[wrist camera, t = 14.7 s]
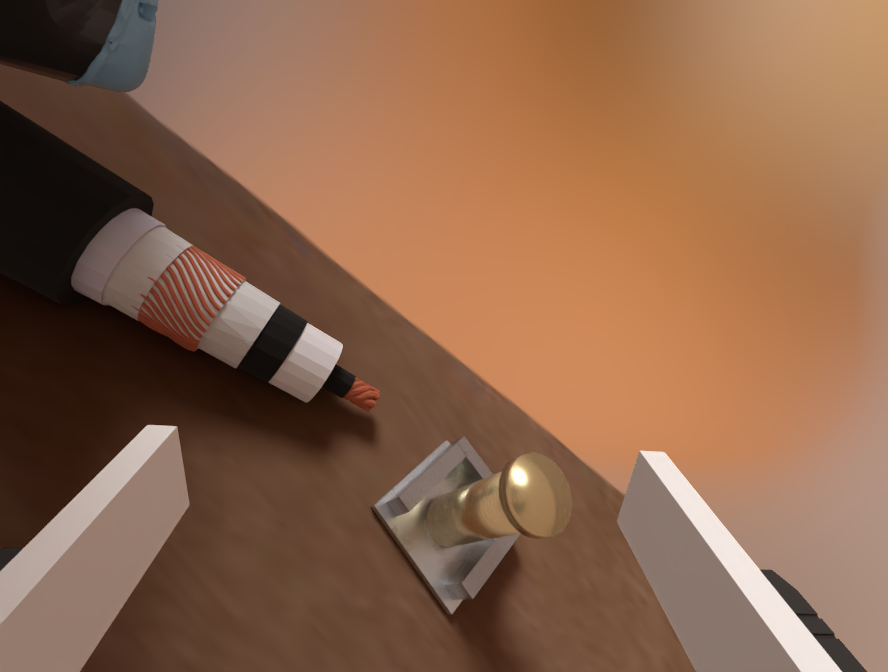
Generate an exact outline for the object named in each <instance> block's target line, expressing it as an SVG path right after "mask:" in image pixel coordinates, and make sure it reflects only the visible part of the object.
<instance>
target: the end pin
mask: <svg viewBox="0 0 888 672" xmlns="http://www.w3.org/2000/svg"><path fill="white" fill-rule="evenodd" d="M571 513H572V497H571V492H570V488H569V485H568V482H567V480H566V478H565V476H564V474H563V473H562V471H561V470H560V468H559V467H558V466H557V465H556V464H555V463H554V462H553V461H552V460H551V459H549V458H548V457H546V456H544V455H542V454H539V453H527V454H524V455H522V456H519V457H517V458H515V459H512V460H511V461H509V462H508V463H507V464H506V466H505V467H504V469H503V470H502V472H500V473H497V474H495V475H492V476H490V477H487V478H484V479H482V480H479V481H477V482H474V483H472V484H469V485H466V486H464V487H461V488H459V489H456V490H453V491H451V492H448V493H446V494H443V495H441V496H438V497H437V498H435V499H434V500H433V501H432V503H431V504H430V506H429V509H428V512H427V525H428V529H429V532H430V534H431V536H432V537H433V538H434V540H435V541H436V542H437V543H439V544H440V545H442V546H445V547H455V546H460V545H465V544H470V543H475V542H480V541H485V540H490V539H495V538H500V537H505V536H510V535H515V534H520V533H521V534H523V535H525V536H527V537H530V538H534V539H539V538H545V537H550V536H555V535H557V534H559V533H561V532H562V531H563V530H564V529H565V528H566V526H567V525H568V523H569V520H570V517H571Z"/></svg>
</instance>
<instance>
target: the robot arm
mask: <svg viewBox="0 0 888 672" xmlns="http://www.w3.org/2000/svg"><path fill="white" fill-rule="evenodd" d="M157 8H158V0H0V64H2V65H6V66H10V67H13V68H17V69H21V70H24V71H28V72H32V73H36V74H39V75H43V76H47V77H50V78H54V79H58V80H62V81H65V82H66V83H68V84H71V85H75V86H82V85H89V86H94V87H98V88H103V89H108V90H112V91H117V92H129V91H132V90H134V89H136V88H138V87H139V86H140V85H141V84H142V83H143V81H144V79H145V77H146V74H147V71H148V68H149V63H150V59H151V53H152V48H153V43H154V35H155V28H156V16H155V13H156V12H157ZM189 505H190V504H189V498H188V492H187V485H186V479H185V473H184V466H183V460H182V454H181V447H180V441H179V435H178V428H177V426H162V425H147V426H146V427H145V428H144V429H143V430H142V431H141V432H140V433H139V434H138V435H137V436H136V437H135V438H134V439H133V440H132V441H131V442H130V443H129V444H128V445H127V446H126V447H125V448H124V449H123V450H122V451H121V452H120V453H119V454H118V455H117V456H116V457H115V458H114V459H113V460H112V461H111V462H110V463H109V464H108V465H107V466H106V467H105V468H104V469H103V470H102V471H101V472H100V473H99V474H98V475H97V476H96V477H95V478H94V479H93V480H92V481H91V482H90V483H89V484H88V485H87V486H86V487H85V488H84V489H83V490H82V491H81V492H80V493H79V494H78V495H77V496H76V497H75V498H74V499H73V500H72V501H71V502H70V503H69V504H68V505H67V506H66V507H65V508H64V509H63V510H62V511H60V512H59V513H58V514H57V515H56V516H55V517H54V518H53V519H52V520H51V521H50V522H49V523H48V524H47V525H46V526H45V527H44V528H43V529H42V530H41V531H40V532H39V533H38V534H37V535H36V536H35V537H34V538H33V539H32V540H31V541H30V542H29V543H28V544H27V545H26V546H25V547H24V548H4V549H2V550H0V672H80V671H81V669H82V668H83V666H84V665H85V663H86V662H87V660H88V658H89V657H90V655H91V654H92V652H93V651H94V649H95V648H96V646H97V645H98V643H99V642H100V640H101V639H102V637H103V636H104V634H105V633H106V631H107V630H108V628H109V627H110V625H111V624H112V622H113V620H114V619H115V617H116V616H117V614H118V613H119V611H120V610H121V608H122V607H123V605H124V604H125V602H126V601H127V599H128V598H129V596H130V595H131V593H132V592H133V590H134V589H135V587H136V586H137V584H138V582H139V581H140V579H141V578H142V576H143V575H144V573H145V572H146V570H147V569H148V567H149V566H150V564H151V563H152V561H153V560H154V558H155V557H156V555H157V554H158V552H159V551H160V549H161V548H162V546H163V544H164V543H165V541H166V540H167V538H168V537H169V535H170V534H171V532H172V531H173V529H174V528H175V526H176V525H177V523H178V522H179V520H180V519H181V517H182V516H183V514H184V513H185V511H186V510H187V508H188V506H189ZM617 523H618V525H619V527H620V529H621V531H622V533H623V534H624V536H625V538H626V540H627V542H628V544H629V546H630V548H631V550H632V551H633V553H634V555H635V557H636V559H637V561H638V563H639V565H640V567H641V568H642V570H643V572H644V574H645V576H646V578H647V580H648V582H649V584H650V586H651V587H652V589H653V591H654V593H655V595H656V597H657V599H658V601H659V603H660V604H661V606H662V608H663V610H664V612H665V614H666V616H667V618H668V620H669V621H670V623H671V625H672V627H673V629H674V631H675V633H676V635H677V637H678V639H679V640H680V642H681V644H682V646H683V648H684V650H685V652H686V654H687V656H688V657H689V659H690V661H691V663H692V665H693V667H694V669H695V671H696V672H867V671H866V670H865V669H864V668H863V667H862V666H861V664H860V663H859V662H858V661H857V660H856V658H855V657H854V656H853V655H852V654H851V652H850V651H849V650H848V649H847V648H846V647H845V645H844V644H843V643H842V642H841V641H840V640H839V639H836V638H835V636H834V633H833V631H832V630H831V629H830V628H829V627H828V626H827V624H826V623H825V622H824V621H823V620H822V619H819V618H818V616H817V613H816V612H815V611H814V609H813V608H812V607H811V606H810V605H809V603H808V602H807V601H806V600H805V599H804V598H803V597H802V595H801V594H800V593H799V592H798V591H797V590H796V589H795V588H794V587H792V586H791V585H790V584H789V583H787V582H786V581H785V580H784V579H782V578H781V577H780V576H779V575H777V574H776V573H775V572H774V571H772V570H759V569H758V567H757V566H756V565H755V564H754V562H753V561H752V560H751V559H750V557H749V556H748V555H747V554H746V552H745V551H744V550H743V549H742V547H741V546H740V545H739V544H738V542H737V541H736V540H735V539H734V538H733V536H732V535H731V534H730V533H729V531H728V530H727V529H726V528H725V526H724V525H723V524H722V523H721V522H720V520H719V519H718V518H717V517H716V515H715V514H714V513H713V512H712V510H711V509H710V508H709V507H708V505H707V504H706V503H705V502H704V501H703V499H702V498H701V497H700V496H699V494H698V493H697V492H696V491H695V489H694V488H693V487H692V486H691V485H690V483H689V482H688V481H687V479H686V478H685V477H684V476H683V475H682V473H681V472H680V471H679V470H678V468H677V467H676V466H675V465H674V464H673V462H672V461H671V460H670V459H669V457H668V456H667V455H666V454H665V452H652V451H639V454H638V458H637V460H636V464H635V467H634V470H633V473H632V476H631V479H630V482H629V485H628V488H627V491H626V494H625V497H624V501H623V504H622V507H621V510H620V513H619V516H618V519H617Z"/></svg>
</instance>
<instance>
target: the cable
mask: <svg viewBox="0 0 888 672" xmlns="http://www.w3.org/2000/svg"><path fill="white" fill-rule="evenodd" d="M153 205H154V204H153V201H152V198H151V197H150V196H149V195H147V194H146V193H144V192H143V191H141V190H140V189H138V188H136V187H135V186H133V185H132V184H130V183H129V182H127V181H125V180H124V179H122V178H121V177H119V176H118V175H116V174H114V173H113V172H111V171H110V170H108V169H107V168H105V167H103V166H102V165H100V164H99V163H97V162H96V161H94V160H92V159H91V158H89V157H88V156H86V155H85V154H83V153H81V152H80V151H78V150H77V149H75V148H74V147H72V146H70V145H69V144H67V143H66V142H64V141H63V140H61V139H59V138H58V137H56V136H55V135H53V134H52V133H50V132H48V131H47V130H45V129H44V128H42V127H41V126H39V125H37V124H36V123H34V122H33V121H31V120H30V119H28V118H26V117H25V116H23V115H22V114H20V113H19V112H17V111H15V110H14V109H12V108H11V107H9V106H8V105H6V104H4V103H3V102H1V101H0V273H1V274H3V275H4V276H6V277H8V278H10V279H12V280H14V281H16V282H18V283H20V284H22V285H24V286H26V287H28V288H30V289H32V290H34V291H36V292H37V293H39V294H41V295H43V296H45V297H47V298H49V299H51V300H53V301H55V302H57V303H59V304H61V305H72V304H75V303H78V302H81V301H83V300H84V299H86V298H87V297H89V298H91V299H93V300H95V301H97V302H98V303H100V304H102V305H110V306H112V307H114V308H116V309H118V310H119V311H121V312H123V313H125V314H127V315H128V316H130V317H132V318H134V319H136V320H137V321H140V322H142V323H143V324H144V325H146V326H147V327H149V328H151V329H152V330H154V331H156V332H159V333H161V334H163V335H165V336H167V337H169V338H170V339H172V340H173V341H174V342H176V343H177V344H179V345H180V346H182V347H183V348H185V349H188V350H190V351H193V352H195V351H196V350H197V349H201V350H203V351H205V352H206V353H208V354H210V355H212V356H214V357H216V358H217V359H219V360H221V361H223V362H225V363H226V364H228V365H230V366H232V367H234V368H235V369H236V368H237V367H238V368H240V369H242V370H243V371H245V372H247V373H249V374H251V375H252V376H254V377H256V378H258V379H260V380H261V381H263V382H265V383H270V384H272V385H274V386H276V387H278V388H279V389H281V390H283V391H285V392H287V393H289V394H291V395H292V396H294V397H296V398H298V399H300V400H302V401H304V402H305V403H306V402H309V401H310V400H311V399H312V398H313V397H314V396H315V395H316V393H317V392H318V391H319V390H320V388H321V387H323V388H325V389H327V390H329V391H330V392H332V393H334V394H336V395H338V396H339V397H341V398H345V399H346V400H349V401H350V402H352V403H353V404H356V405H357V406H359V407H360V408H362V409H364V410H366V411H368V412H369V411H370V409H371V408H373V407H374V406H375V404H376V401H375V400H378V398H379V397H380V394H379V390H377V389H375V388H374V387H372V386H370V385H368V384H366V383H365V382H363V381H360V380H359V379H358V378H356V376H354V375H352V374H351V373H349V372H347V371H346V370H344V369H343V368H341V367H339V366H338V365H336V363H337V361H338V359H339V356H340V354H341V352H342V348H343V345H342V343H340V342H338V341H337V340H335V339H333V338H332V337H330V336H328V335H327V334H325V333H323V332H322V331H320V330H318V329H317V328H315V327H313V326H312V325H310V324H308V323H307V321H306V320H305V319H303V318H301V317H300V316H298V315H296V314H295V313H293V312H292V311H290V310H288V309H287V308H285V307H284V306H282V305H280V303H279V302H278V301H276V300H274V299H273V298H271V297H270V296H268V295H266V294H265V293H263V292H262V291H260V290H258V289H257V288H255V287H254V286H252V285H251V284H249V283H247V282H246V278H245V277H244V276H242V275H240V274H239V273H237V272H235V271H233V270H232V269H230V268H229V267H227V266H225V265H223V264H222V263H220V262H219V261H217V260H216V259H214V258H212V257H210V256H209V255H208V254H206V253H204V252H203V251H201V250H199V249H198V248H196V247H195V246H193V245H192V244H190V243H189V242H187V241H185V240H184V239H182V238H181V237H179V236H177V235H176V234H174V233H173V232H171V231H170V230H168V229H167V228H166V225H164V224H163V223H161V222H160V221H158V220H156V219H155V218H153V217H151V216H152V210H153Z"/></svg>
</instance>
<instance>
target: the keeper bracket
mask: <svg viewBox="0 0 888 672" xmlns="http://www.w3.org/2000/svg"><path fill="white" fill-rule="evenodd" d="M492 475H493V474H492V473H491V471H490V470H489V469H488V467H487V466H486V465H485V463H484V462H483V461H482V459H481V458H480V457H479V455H478V454H477V453H476V451H475V450H474V449H473V447H472V446H471V445H470V443H469V442H468V441H467V439H466V438H465V436H463V437H461V438H460V439H458V440H456V441H454V442H452V443H451V444H450V443H449V442H448V440H446V441H444V442H443V443H441V444H440V445H439V446H438V447H437V448H436V449H435V450H434V451H433V452H431V453H430V454H429V455H428V456H427V457H426V458H425V459H424V460H422V461H421V462H420V463H419V464H418V465H417V466H416V467H415V468H414V469H412V470H411V471H410V472H409V473H408V474H407V475H406V476H405V477H403V478H402V479H401V480H400V481H399V482H398V483H397V484H396V485H395V486H393V487H392V488H391V489H390V490H389V491H388V492H387V493H386V494H385V495H383V496H382V497H381V498H380V499H379V500H378V501H377V502H376V503H374V504H373V505H372V506H371V508H372V509H373V511H374V512H375V513H376V515H377V516H378V518H379V519H380V521H381V522H382V523H383V525H384V526H385V528H386V529H387V530H388V532H389V533H390V535H391V536H392V537H393V539H394V540H395V542H396V543H397V544H398V546H399V547H400V549H401V550H402V551H403V553H404V554H405V556H406V557H407V558H408V560H409V561H410V563H411V564H412V565H413V567H414V568H415V570H416V571H417V573H418V574H419V575H420V577H421V578H422V580H423V581H424V582H425V584H426V585H427V587H428V588H429V589H430V591H431V592H432V594H433V595H434V596H435V598H436V599H437V601H438V602H439V603H440V605H441V606H442V608H443V609H444V610H445V612H446V613H447V614H453V612H454V611H455V610H456V608H457V607H458V606H459V604H460V603H461V602H462V600H463V599H473V598H474V597H475V596H476V594H477V593H478V592H479V590H480V589H481V587H482V586H483V585H484V583H485V582H486V581H487V579H488V578H489V576H490V575H491V574H492V572H493V571H494V570H495V568H496V567H497V565H498V564H499V563H500V561H501V560H502V559H503V557H504V556H505V554H506V553H507V552H508V550H509V549H510V548H511V546H512V545H513V543H514V542H515V541H516V539H517V538H518V537H519V535H520V534H521V533H520V534H515V535H510V536H505V537H500V538H495V539H490V540H485V541H480V542H475V543H470V544H465V545H460V546H455V547H445V546H442V545H440V544H439V543H437V542H436V541H435V540H434V538H433V537H432V536H431V534H430V532H429V529H428V525H427V512H428V509H429V506H430V504H431V503H432V501H433V500H434V499H435V498H437V497H438V496H441V495H443V494H446V493H448V492H451V491H453V490H456V489H459V488H461V487H464V486H466V485H469V484H472V483H474V482H477V481H479V480H482V479H484V478H487V477H490V476H492Z"/></svg>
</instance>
